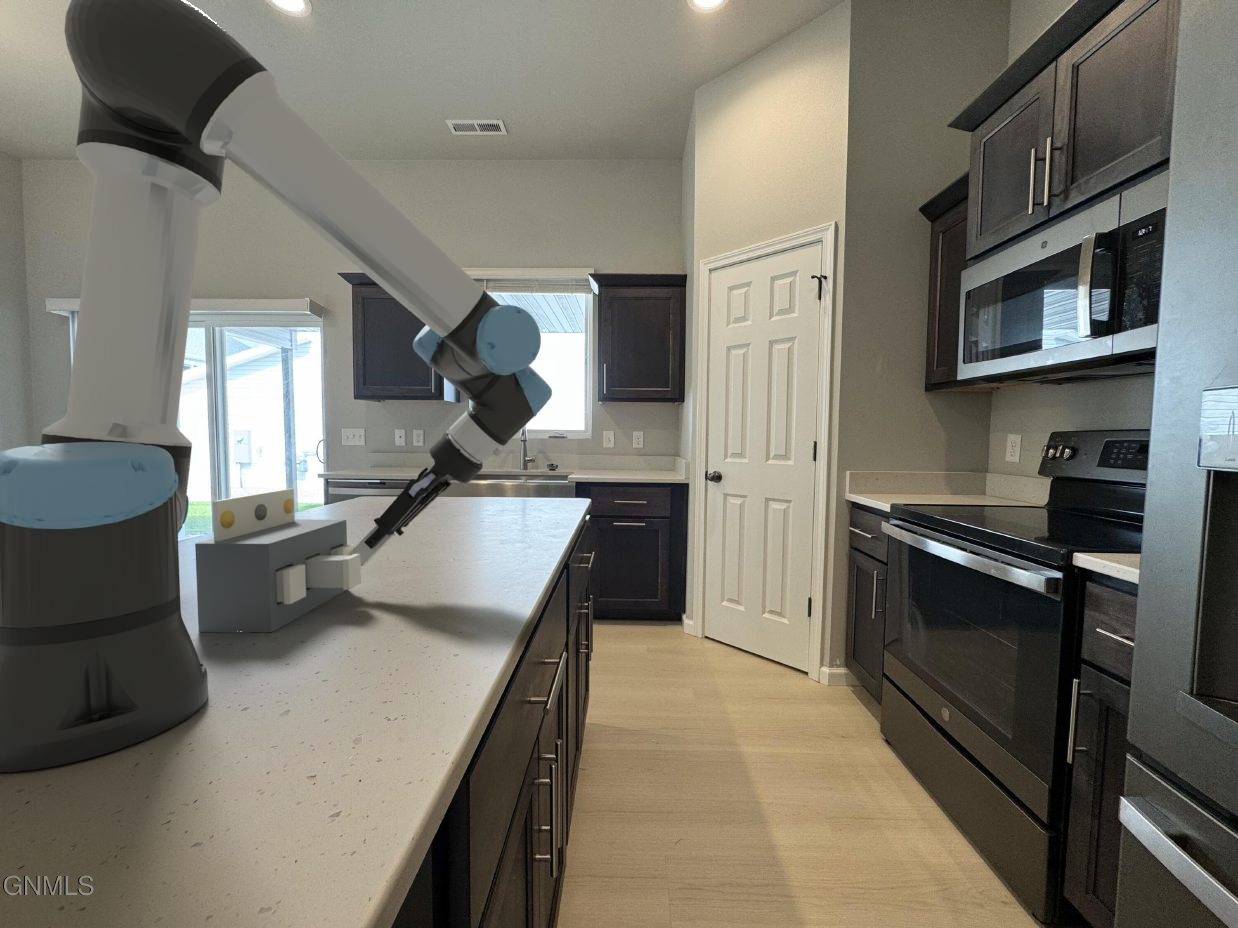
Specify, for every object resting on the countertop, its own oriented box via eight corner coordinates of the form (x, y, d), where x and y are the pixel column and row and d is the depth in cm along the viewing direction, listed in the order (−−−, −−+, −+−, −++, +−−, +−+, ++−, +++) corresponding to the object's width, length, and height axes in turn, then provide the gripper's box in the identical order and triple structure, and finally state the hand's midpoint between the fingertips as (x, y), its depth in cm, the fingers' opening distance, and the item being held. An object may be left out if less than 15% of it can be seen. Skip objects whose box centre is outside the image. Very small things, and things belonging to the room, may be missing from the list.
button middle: (349, 589, 76) (348, 559, 76) (292, 589, 76) (291, 558, 76) (361, 582, 79) (360, 553, 79) (306, 582, 79) (305, 553, 79)
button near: (290, 604, 69) (289, 570, 69) (228, 603, 70) (227, 570, 69) (306, 596, 73) (305, 564, 73) (246, 595, 73) (245, 564, 73)
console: (271, 632, 68) (268, 543, 68) (198, 632, 68) (195, 543, 68) (348, 589, 87) (346, 519, 87) (290, 589, 87) (288, 519, 87)
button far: (343, 577, 82) (342, 549, 82) (291, 577, 83) (290, 548, 82) (354, 571, 86) (354, 544, 86) (304, 571, 86) (303, 544, 86)
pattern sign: (220, 541, 69) (219, 501, 69) (214, 541, 69) (212, 501, 69) (296, 521, 85) (295, 488, 85) (290, 521, 85) (289, 488, 85)
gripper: (472, 469, 77) (354, 588, 78) (494, 464, 90) (393, 566, 91) (433, 430, 76) (315, 550, 77) (460, 431, 89) (359, 533, 90)
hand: (357, 558), depth 84 cm, fingers closed
